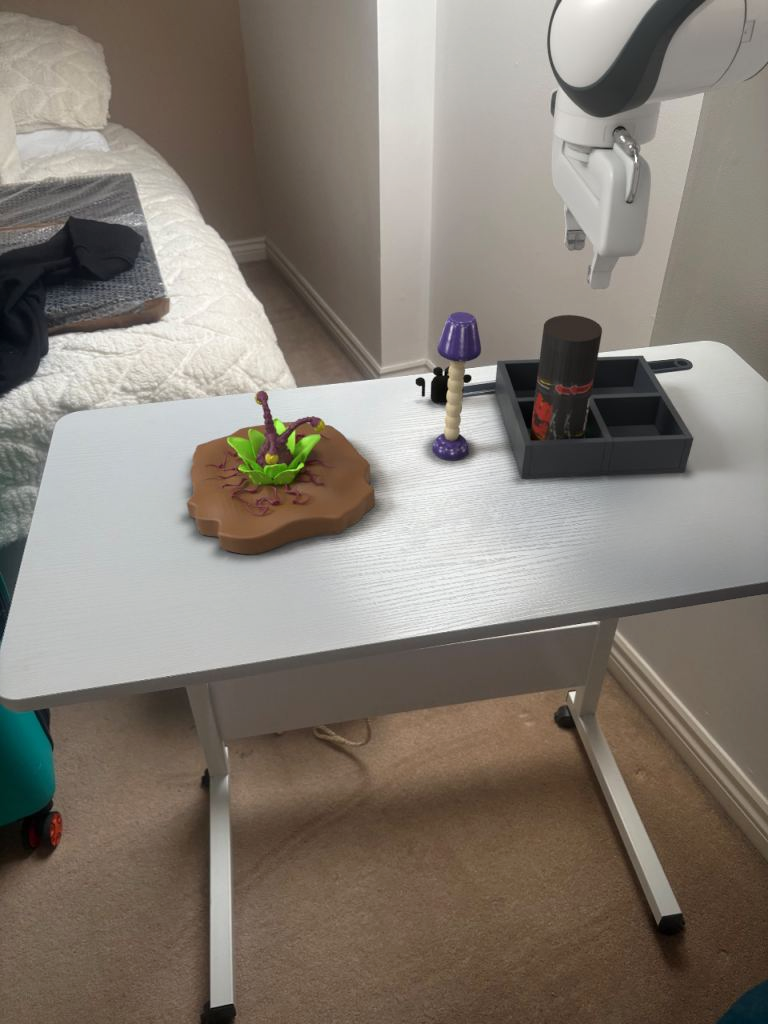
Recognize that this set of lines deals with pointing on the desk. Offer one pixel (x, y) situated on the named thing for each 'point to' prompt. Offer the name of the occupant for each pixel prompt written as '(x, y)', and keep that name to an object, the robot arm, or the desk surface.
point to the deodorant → (565, 377)
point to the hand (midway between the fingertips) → (584, 266)
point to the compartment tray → (597, 423)
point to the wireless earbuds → (439, 384)
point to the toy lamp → (456, 380)
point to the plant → (278, 484)
